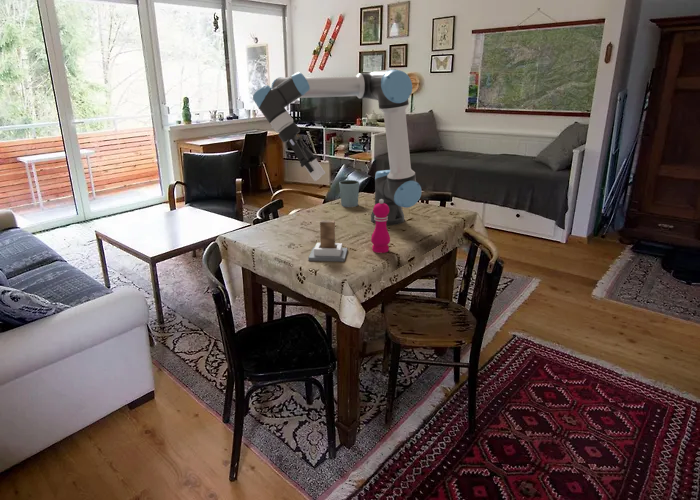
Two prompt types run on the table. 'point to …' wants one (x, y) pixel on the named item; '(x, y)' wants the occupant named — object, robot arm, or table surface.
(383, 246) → the pepper mill
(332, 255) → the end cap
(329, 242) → the wooden slat
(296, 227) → the table surface
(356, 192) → the blue-grey cup
